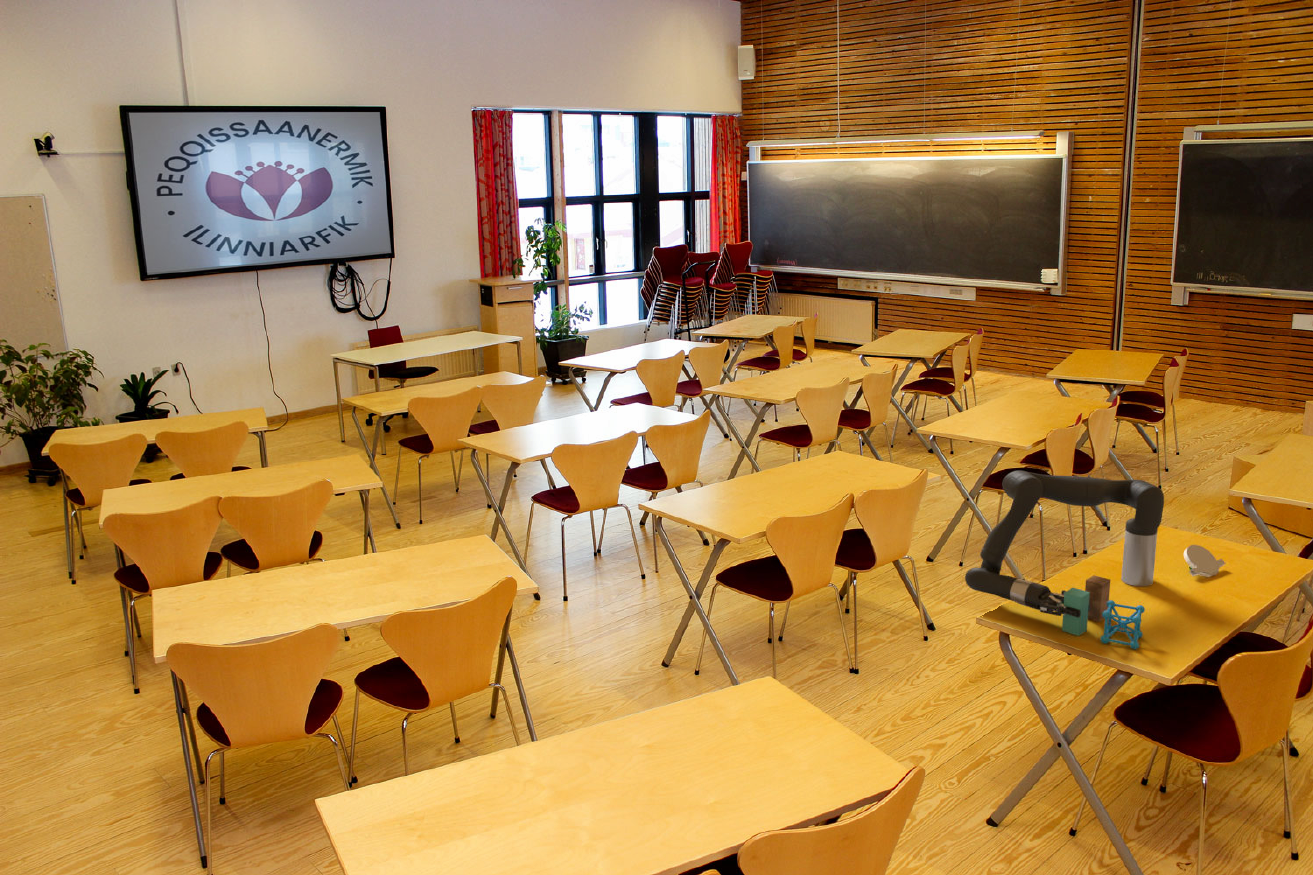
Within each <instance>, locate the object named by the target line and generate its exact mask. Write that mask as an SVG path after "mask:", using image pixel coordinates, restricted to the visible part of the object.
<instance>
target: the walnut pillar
mask: <svg viewBox="0 0 1313 875" xmlns="http://www.w3.org/2000/svg"><path fill="white" fill-rule="evenodd" d="M1110 589H1111V579H1109V578H1105V577H1103V576H1099V575H1095V574H1094V575H1092V576H1090V577H1089V578H1086V580H1085V589H1084V591H1087V592H1090V594H1089V604H1090V610H1089V611H1088V620H1092V621H1095V622H1097V623H1101V622H1102V621H1103V620H1104V621H1105V618H1104V617H1103V616H1102V613H1103V612H1104V611H1107V609H1108V606H1107V602H1108V601H1109V600H1110V593H1111V591H1110Z"/></svg>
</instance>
